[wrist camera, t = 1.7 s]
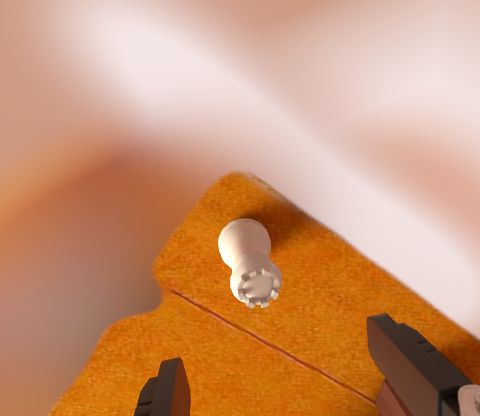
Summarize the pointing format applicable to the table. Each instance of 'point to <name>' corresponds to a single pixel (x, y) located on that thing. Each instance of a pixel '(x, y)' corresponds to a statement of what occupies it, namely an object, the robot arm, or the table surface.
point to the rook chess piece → (250, 262)
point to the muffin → (391, 402)
